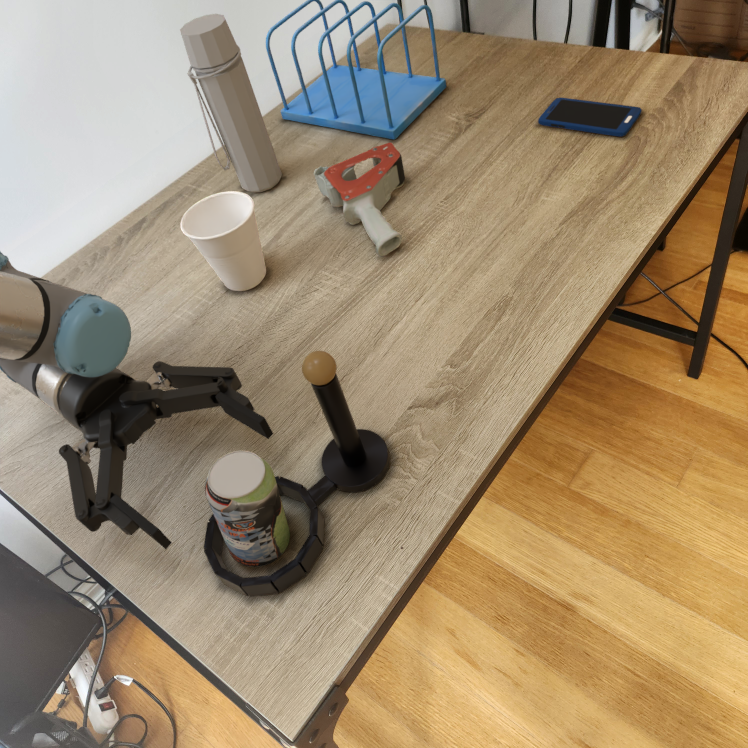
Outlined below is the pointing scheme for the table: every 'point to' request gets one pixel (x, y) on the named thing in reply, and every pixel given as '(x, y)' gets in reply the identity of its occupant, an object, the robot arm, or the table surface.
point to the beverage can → (247, 508)
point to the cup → (227, 238)
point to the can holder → (342, 471)
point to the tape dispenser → (366, 192)
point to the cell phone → (590, 116)
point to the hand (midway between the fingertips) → (217, 481)
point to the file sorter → (360, 82)
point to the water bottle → (230, 102)
